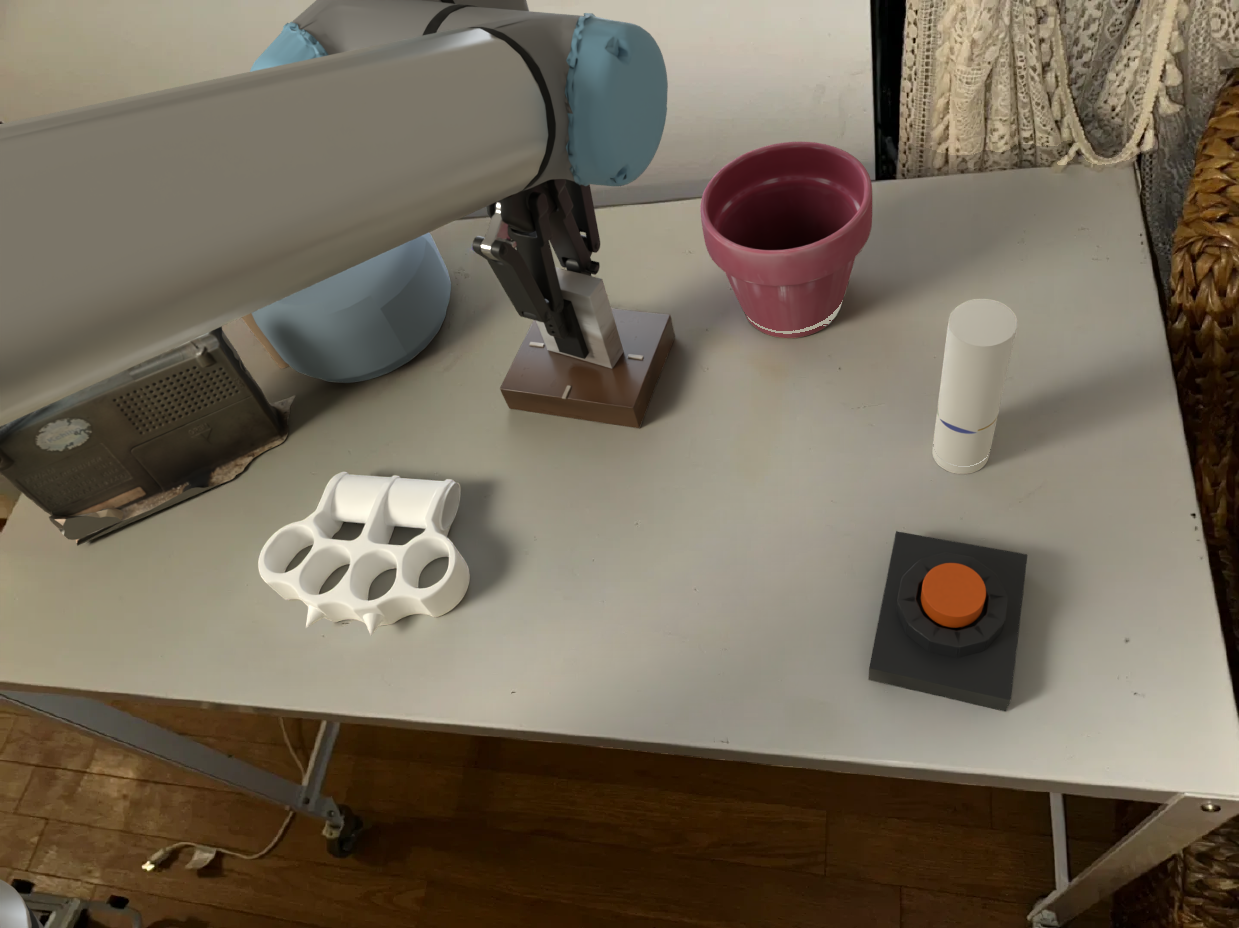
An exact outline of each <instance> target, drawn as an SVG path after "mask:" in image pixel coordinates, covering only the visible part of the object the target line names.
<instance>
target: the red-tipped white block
mask: <svg viewBox="0 0 1239 928" xmlns="http://www.w3.org/2000/svg"><path fill="white" fill-rule="evenodd" d="M555 268H556V272H557V276H558V280H559V284H560V288H561V292H562V296H563V299H565V300H569V301H571V302H572V305H573V308H574V311H575V314H576V317H577V319H578V322H579V325H580V328H581V331H582V334H583V337H584V340H585V343H586V346H587V349H588V352H589V354H588V355H587V357H586V358H585V359H583V358H579V357H576V356H572V355H569V354H565V353H562V352H559V349H558V347H557V344H556V342H555V339H554V336H550V335H549V334H548V333H547V330H546V328H545V325H544V323H543V322H539V321H536V322H537V324H538V327H539V329H540V332H541V334H542V337H543V339H544V342H545V345H546V347H547V350H550V351H553V352H556V353H560V354H563V355H567V356H570V357H574V358H577V359H580V360H584V361H587V362H591V363H594V364H598V365H601V366H604V367H608V368H611V369H612V368H613V367H614V366H615V364H616V362H617V361H618V359H619V358H620V356H621V355H622V353H623V352H624V350H623V347H622V344H621V340H620V337H619V333H618V330H617V327H616V323H615V320H614V317H613V313H612V310H611V308H612V306H611V303H610V301H609V296H608V294H607V293H608V292H607V290H606V287H605V283H604V280H603V278H601V277H596V276H592V275H591V276H589V275H585V274H581V273H576V272H572V271H568V270H567V269H563V268H561V267H556V266H555Z"/></svg>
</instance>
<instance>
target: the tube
mask: <svg viewBox="0 0 1239 928" xmlns="http://www.w3.org/2000/svg"><path fill="white" fill-rule="evenodd" d="M947 322H948V323H947V328H946V337H945V345H944V354H943V361H942V367H941V377H940V385H939V393H938V401H937V409H936V417H935V425H934V432H933V439H932V445H933V444H934V447H933V446H932V448H931V449H932V450H931V453H932V454H931V455H932V457H933V459H934V461H935V463H936V464H937V465H938V466H939V467H940V468H941V469H943V470H945V471H947V472H949V473H952V474H955V475H956V474H957V475H968V474H969V475H970V474H973V473H976V472H978V471H979V470H981V469H983V468H984V467H985V465H987V464H988V461H989V459H990V455H991V450H990V449H992V444H993V440H994V435H995V431H996V426H997V423H998V422H997V421H998V416H999V413H1000V412H999V411H1000V407H1001V403H1002V399H1003V394H1004V390H1005V385H1006V380H1007V375H1008V370H1009V365H1010V361H1011V358H1012V351H1013V348H1014V344H1015V343H1014V342H1015V339H1016V333H1017V328H1018V318H1017V316H1016V314H1015V312H1014V311H1013V310H1012V309H1011V308H1010V307H1009V306H1008V305H1006V304H1004V303H1003V302H1001V301H998V300H994V299H991V298H974V299H969V300H966V301H964V302H961V303H959V305H957V306H956V307H955V308H953V309H952V311H951V312H950V314H949V316H948V321H947ZM934 449H935V450H934ZM935 451H936V452H935ZM989 452H990V453H989ZM936 453H937V454H936ZM988 454H989V455H988ZM937 455H938V456H939V457H940V458H942V459H943V460H944V461H946V462H948V463H951V464H954V465H957V466H953V465H950V464H948V463H946V462H944V461H943V460H941V459H940V458H939V457H938V456H937ZM987 455H988V456H987ZM986 457H987V458H986ZM984 458H986V459H985V460H984V461H982V460H983V459H984ZM980 461H982V462H981V463H979V462H980ZM976 463H979V464H977V465H974V464H976ZM970 465H974V466H970ZM958 466H970V467H958Z"/></svg>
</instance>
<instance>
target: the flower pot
mask: <svg viewBox="0 0 1239 928" xmlns="http://www.w3.org/2000/svg"><path fill="white" fill-rule="evenodd" d="M699 207H700V220H701V228H702V235H703V241H704V244H705V248H706V250H707V253H708V255H709V257H710V258H711V260H712V261H713V263H714V264H715V265H716V266H717V267H718V268H719V269H720V270H722V272H724V273H725V275H726V278H727V280H728V282H729V284H730V286H731V289H732V291H733V293H734V295H735V297H736V299H737V301H738V303H739V305H740V307H741V309H742V311H743V313H744V312H745V313H744V315H745V314H746V315H747V316H748V317H749V318H750V319H751V320H752V321H754V322H755V323H757V324H759V325H760V326H763V327H765V328H768V329H772V330H776V331H793V330H794V331H795V330H800V329H804V328H806V327H810V326H813V325H815V324H817V323H819V322H821V321H823V320H825V319H826V318H828V316H830V315H831V314H833V312H834V311H835V310H836V309H837V308H838V307H839V305H840V304H841V302H842V300H843V301H844V299H845V296H846V291H847V288H848V285H849V282H850V278H851V275H852V270H853V268H854V264H855V261H856V257H857V256H858V254H859V253H860V252H861V251H862V249H864V246H865V245H866V244H867V242H868V240H869V237H870V235H871V231H872V225H873V184H872V179H871V176H870V174H869V171H868V170H867V168H866V167H865V166H864V165H863V163H862V162H861V161H860V160H859V159H857V158H856V157H855V156H854V155H852V154H851V153H849V152H848V151H846V150H844V149H842V148H839V147H837V146H833V145H830V144H826V143H821V142H815V141H787V142H786V141H785V142H778V143H772V144H768V145H765V146H760V147H758V148H755V149H753V150H750V151H747V152H745V153H743V154H741V155H739V156H737V157H736V158H734V159H733V160H730V161H729V162H728V163H727V164H725V165H724V166H723V167H722V168H720V169H719V170H718V171H717V172H716V173H715V174H714V176H713V177H712V178H711V179H710V181H708V183H707V185H706V187H705V189H704V190H703V193H702V196H701V199H700V206H699ZM844 295H845V296H844ZM843 298H844V299H843ZM746 315H745V317H746V319H747V321H748V322H749V324H751V326H753V327H754V328H755V329H756V330H758V331H759V332H761V333H763V334H765V335H768V336H771V337H774V338H775V337H776V338H780V339H798V338H804V337H807V336H810V335H813V334H816V333H819V332H820V331H822V330H824V329H825V328H827V327H828V326H829V325H828V324H823V325H827V326H826V327H825V326H823V325H822V326H819V327H817V328H815V329H812V330H809V331H805V332H800V333H792V334H783V333H775V332H771V331H768V330H765V329H762V328H760V327H758V326H757V325H755V324H754V323H753V322H751V321H750V320H749V319H748V317H747V316H746ZM829 321H831V320H829ZM832 322H834V320H832Z"/></svg>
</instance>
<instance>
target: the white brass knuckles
mask: <svg viewBox="0 0 1239 928" xmlns="http://www.w3.org/2000/svg"><path fill="white" fill-rule="evenodd" d="M461 490H462V489H461V484H460V483H459V482H458V481H454V479H450V478H446V479H445V480H437V479H435V480H434V479H432V480H431V479H423V478H422V479H421V478H408V477H407V478H405V477H401V476H400V475H392V476H379V475H364V474H349V472H347V471H340V472H339V473H336V474H334V475H333V476H332V477H331V478H330V479H329V481H328V482H327V484H326V486H325V487H324V490H323V493H322V495H321V497H320V500H319V501H318V504H317V507H316V509H315V510H314V511H313V512H312V513H310V514H309V515H308V516H307V517H306V518H304V519H302V520H298V521H293V522H291V523H288V524H286V525H284V526H282V527H281V528H278V530H276V531H275V532H274V533H273V534H272V535H271V536H270V537H269V538H268V539H267V540H266V541H265V543H264V545H263V546H262V548H261V551H260V553H259V556H258V563H257V567H258V573H259V576H260V577H261V578H262V580H263V581H264V582H265V584H267V585H268V586H269V587H270V588H271V589H272V590H273V591H275V592H276V593H277V594H278V595H279V596H280V597H281V598H282V599H283V600H285V601H291V600H300V601H301V602H303V603H304V604H305V606H307V615H306V623H305V629H307V628H309V627H311V626H312V625H313V624H315V623H317V622H318V621H320V620H323V619H326V620H328V621H330V622H332V623H335V624H336V623H339V622H342V621H347V620H355V621H359V622H361V623H363V624H365V626H366V628H367V630H368V632H369V635H370V637H372V636H373V634H374V633H375V631H376V630H377V629H378V628H379V627H380V626H387V625H393V624H395V623H396V622H398V621H399V620H401V619H403V618H406V617H408V616H412V615H427V616H429V617H432V618H439V617H441V616H444V615H445V614H448V613H449V612H451V611H452V610H453V609H454V608H456V606H458V604H459V603H461V601H462V600H463V598H464V597H465V595H466V593H467V591H468V588H469V585H470V579H471V576H470V574H471V573H470V568H469V566H468V565H469V564H468V563H467V561H466V559H465V558H464V557H463V556H462V554H461V553H460V551H459V550H458V549H457V547H456V546H455V544H454V543H453V541H452V540H451V539H450V538H449V537H448V535H449V532H450V529H451V527H452V525H453V523H454V521H455V519H456V516H457V513H458V510H459V507H460V501H461V494H462V493H461V492H462V491H461ZM344 522H346V523H355V524H356V523H357V524H364V526H363V528H362V530H361V533H360V534H359V536H358V537H356V538H354V539H352V540H346V539H336V538H335V539H334V538H333V536H334V535H336V533H338V532H339V531H340V530H341V528H342V526H343V524H344ZM395 527H401V528H414V529H423V530H424V531H422V533H421V534H418V535H416V536H414V537H413V538H412V539H410V540H409V541H408V542H407V543H405V544H402V545H399V544H389V543H390V541H391V538H392V535H393V533H394V530H395ZM310 546H311V549H310V551H309V552H308V554H307V555H306V556H305V557H304V559H303V560H302V561H301V562H300V563H299V564H298V565H297V566H296V567H293V569H291V570H289V571H286V570H287V569H288V566H289V565H290V563H291V562H292V561H293V560H294V558H296V556H297V555H298V554H299V553H300V552H301V551H302V550H304V549H306V548H308V547H310ZM441 558H448V567H447V570H446V572H445V574H444V575H443V577H442V578H441V579H439V581H437V582H436V583H434V584H432V585H430V586H427V587H423V588H421V587H419V584H420V583H419V582H420V581H419V580H420V576H421V574H422V572H423V570H424V568H425V567H426V566H427V565H428V564H430V563H431V562H433V561H434V560H437V559H441ZM346 565H349V566H348V569H347V570H346V572H345V573H344V575H343V577H341V579H340V581H339V582H338V583H337V584H336V585H335V586H334V587H333V588H332V589H330V590H328V591H326V592H324V593H320V591H321V589H322V587H323V585H324V584H325V583H326V581H327V580H328V579H329V577H330V576H331V575H332V573H334V572H335V571H336V570H337V569H339V568H341V567H343V566H346ZM393 569H396V574H395V580H394V582H393V585H392V586H391V588H390V589H388V591H386V593H385V594H383V595H381V596H379V597H377V598H375V599H369V593H370V588H371V585H372V584H373V582H374V581H375V580H376V578H377V577H378V576H379V575H381V574H383V573H384V572H386V571H388V570H393Z"/></svg>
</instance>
